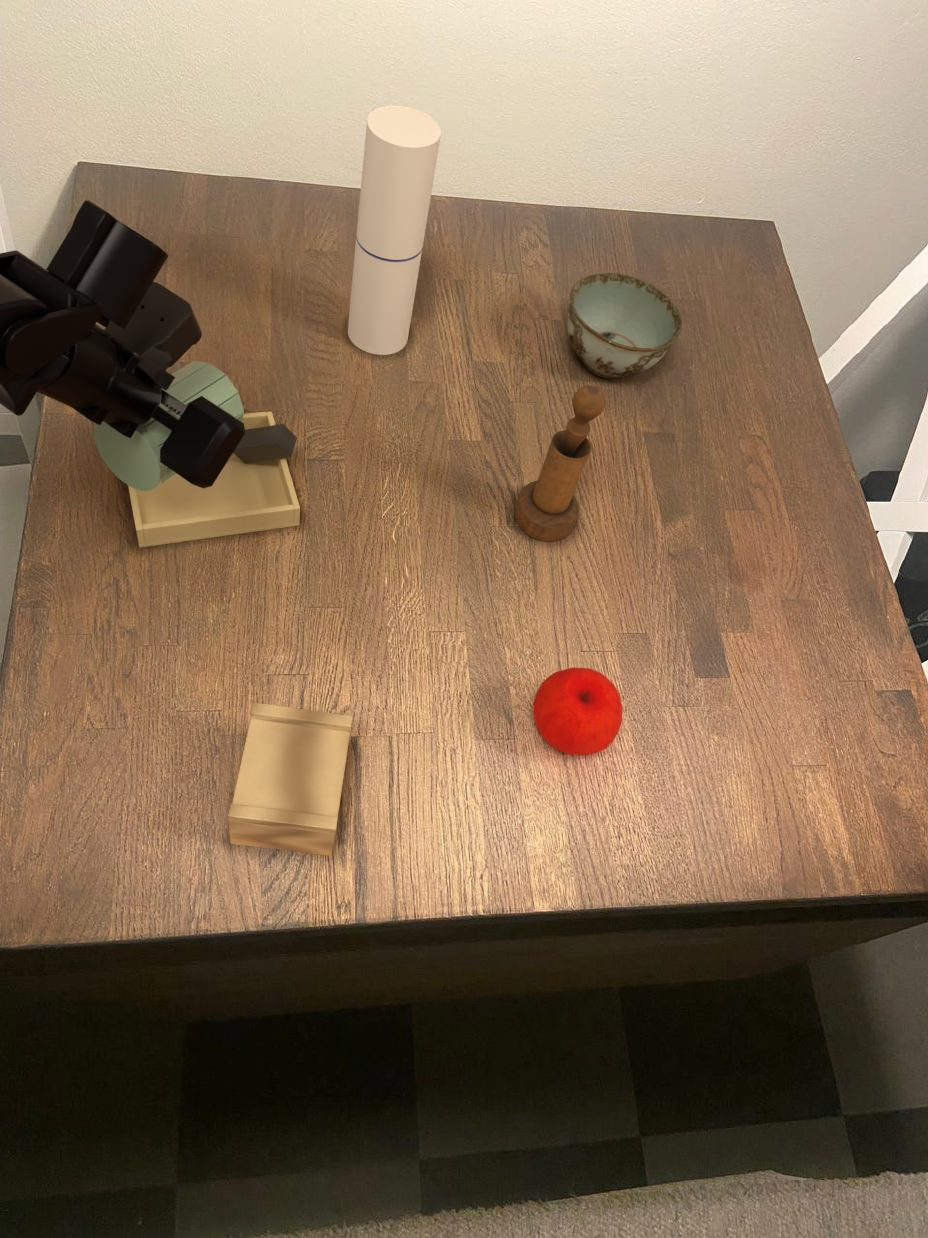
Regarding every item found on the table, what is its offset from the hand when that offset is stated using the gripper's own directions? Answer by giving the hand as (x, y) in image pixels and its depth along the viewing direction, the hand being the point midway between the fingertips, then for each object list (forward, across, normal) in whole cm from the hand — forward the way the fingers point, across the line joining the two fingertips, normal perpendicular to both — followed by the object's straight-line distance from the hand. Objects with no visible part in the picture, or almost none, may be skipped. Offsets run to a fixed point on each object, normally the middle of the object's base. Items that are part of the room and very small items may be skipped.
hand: (186, 423), depth 82 cm
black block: (+10, -2, -2) cm, 10 cm away
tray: (+9, 0, +4) cm, 10 cm away
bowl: (+38, -21, -33) cm, 54 cm away
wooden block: (-3, -28, +20) cm, 34 cm away
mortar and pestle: (+22, -28, -12) cm, 37 cm away
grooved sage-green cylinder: (-2, 0, +1) cm, 2 cm away
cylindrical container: (+28, +2, -20) cm, 34 cm away
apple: (+10, -43, +4) cm, 44 cm away
